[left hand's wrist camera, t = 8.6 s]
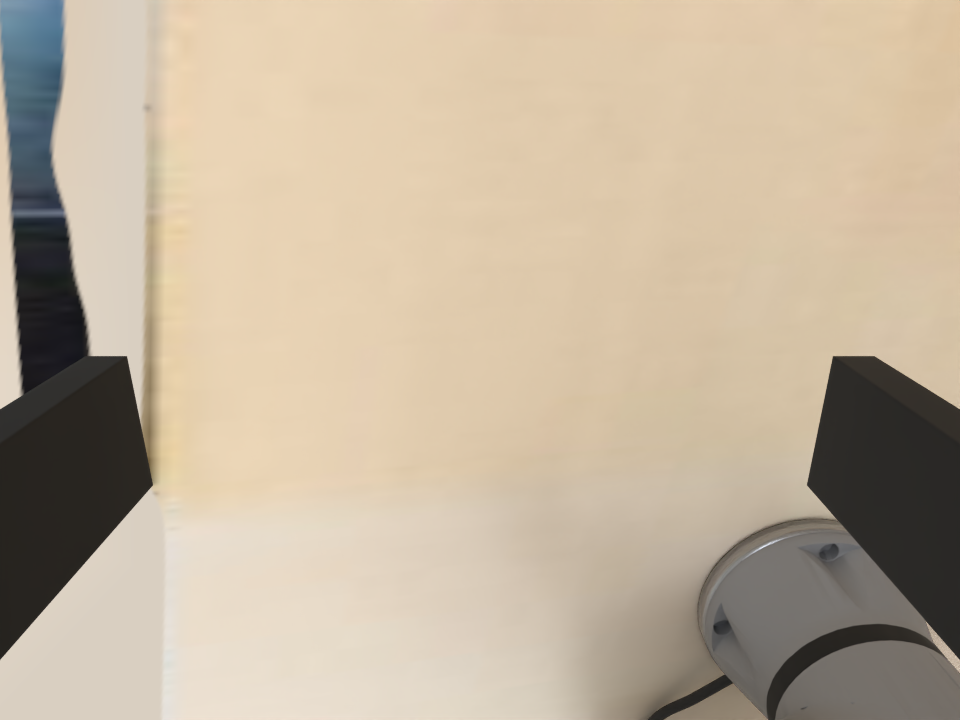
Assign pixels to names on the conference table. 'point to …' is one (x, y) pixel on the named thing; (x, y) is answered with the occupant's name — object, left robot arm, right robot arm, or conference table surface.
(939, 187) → the conference table surface
